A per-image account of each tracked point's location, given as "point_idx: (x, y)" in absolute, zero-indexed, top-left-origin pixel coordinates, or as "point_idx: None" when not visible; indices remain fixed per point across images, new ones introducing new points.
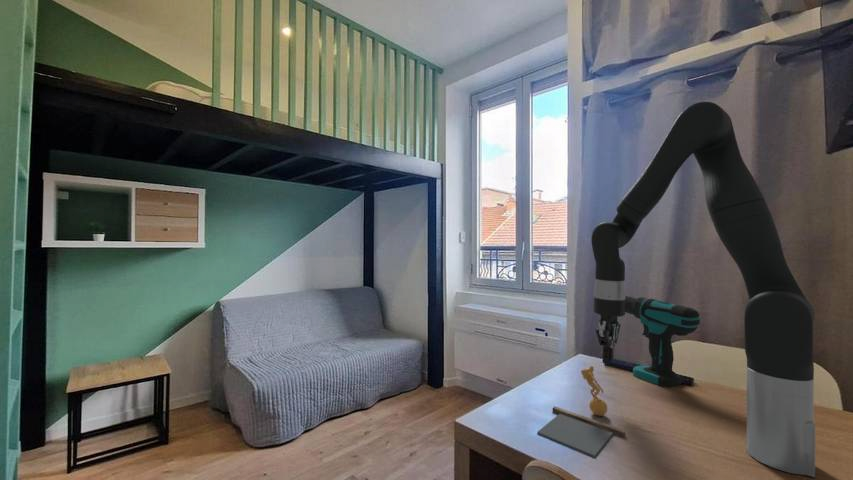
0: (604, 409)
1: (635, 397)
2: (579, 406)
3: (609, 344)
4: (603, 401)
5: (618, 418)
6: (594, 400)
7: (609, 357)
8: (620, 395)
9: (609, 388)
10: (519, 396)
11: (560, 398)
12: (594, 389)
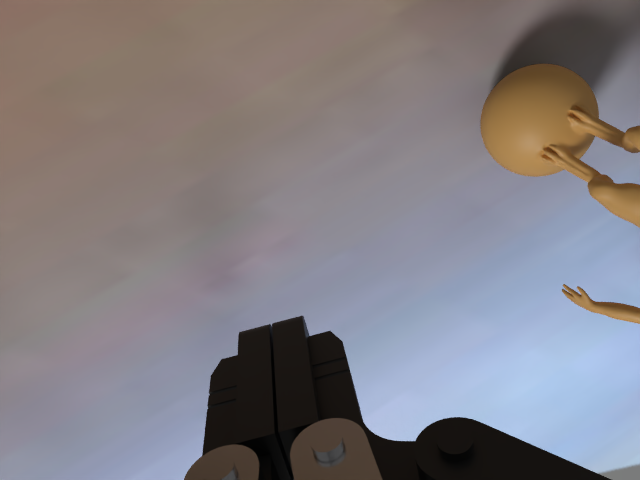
0: (564, 68)
1: (29, 128)
2: (494, 230)
3: (501, 451)
4: (553, 100)
5: (459, 13)
6: (588, 142)
7: (331, 351)
8: (106, 200)
9: (73, 297)
10: (625, 432)
11: (483, 337)
12: (600, 179)
